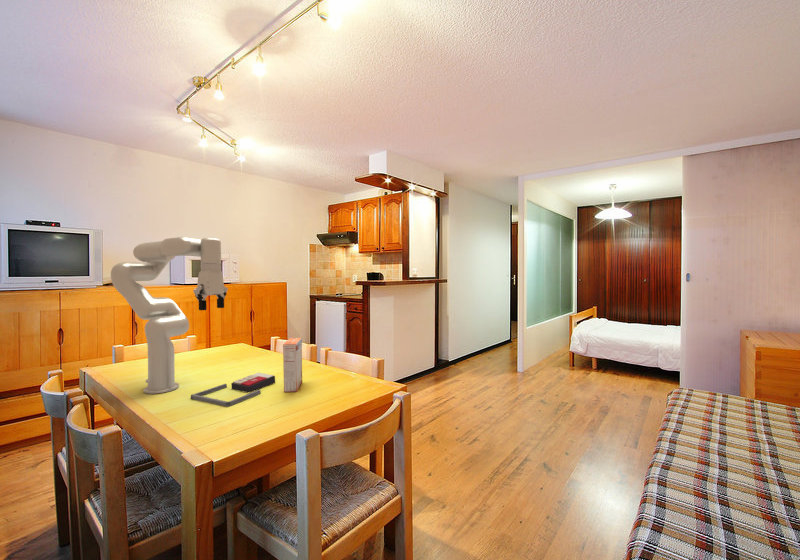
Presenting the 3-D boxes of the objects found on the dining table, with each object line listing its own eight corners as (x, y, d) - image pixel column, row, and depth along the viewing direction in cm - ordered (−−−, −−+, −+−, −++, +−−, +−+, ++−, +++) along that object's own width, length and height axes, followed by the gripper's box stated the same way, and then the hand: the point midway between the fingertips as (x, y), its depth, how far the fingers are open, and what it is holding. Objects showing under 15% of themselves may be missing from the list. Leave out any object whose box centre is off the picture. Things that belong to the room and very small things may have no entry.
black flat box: (230, 381, 151) (258, 371, 165) (231, 391, 151) (258, 380, 165) (248, 385, 146) (275, 374, 160) (248, 395, 147) (275, 383, 160)
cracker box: (289, 382, 161) (289, 337, 160) (302, 382, 161) (302, 337, 161) (282, 392, 147) (282, 343, 146) (297, 392, 147) (297, 343, 147)
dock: (190, 398, 139) (190, 395, 139) (225, 387, 154) (225, 383, 154) (227, 406, 130) (227, 403, 130) (260, 393, 145) (260, 390, 145)
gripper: (219, 268, 153) (219, 307, 153) (186, 267, 136) (187, 311, 136) (233, 268, 151) (234, 307, 151) (202, 267, 134) (202, 311, 135)
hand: (211, 309), depth 144 cm, fingers open, 9 cm apart
